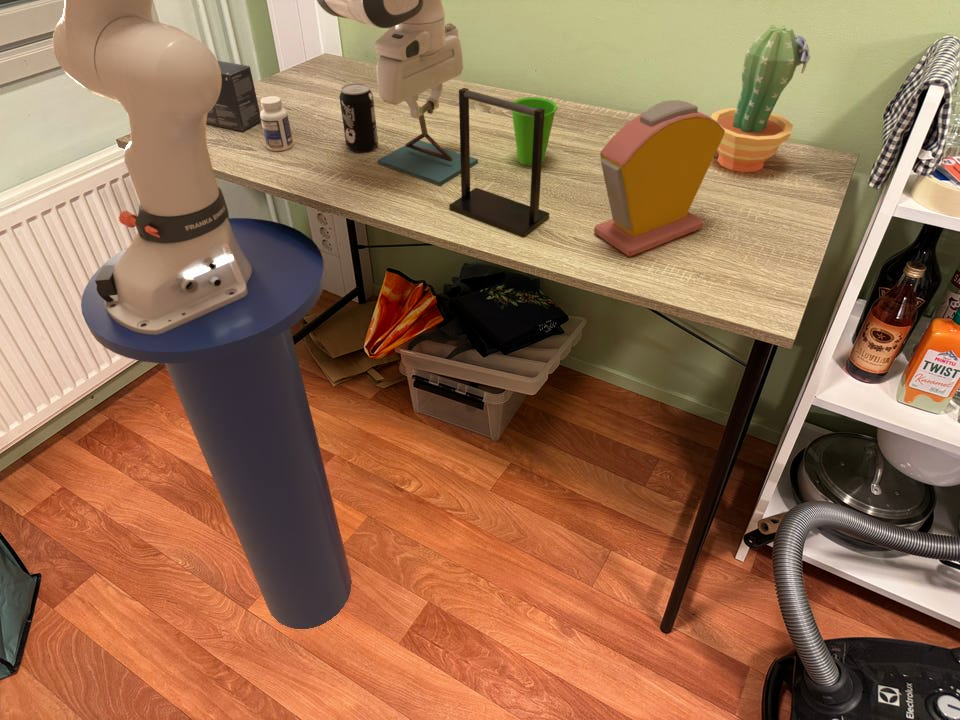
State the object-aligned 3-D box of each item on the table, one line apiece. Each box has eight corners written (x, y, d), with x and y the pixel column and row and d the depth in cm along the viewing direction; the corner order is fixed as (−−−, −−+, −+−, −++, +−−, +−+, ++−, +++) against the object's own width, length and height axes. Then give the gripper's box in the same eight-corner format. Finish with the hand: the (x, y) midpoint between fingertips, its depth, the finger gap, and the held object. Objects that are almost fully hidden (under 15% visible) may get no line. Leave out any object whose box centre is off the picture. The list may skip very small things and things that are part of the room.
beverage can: (340, 148, 140) (331, 89, 133) (361, 137, 145) (354, 79, 137) (363, 156, 138) (356, 96, 130) (385, 144, 142) (378, 86, 134)
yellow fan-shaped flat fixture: (675, 202, 123) (700, 81, 108) (714, 225, 117) (746, 99, 102) (580, 238, 114) (593, 110, 100) (616, 263, 108) (636, 132, 94)
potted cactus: (765, 187, 127) (807, 46, 110) (687, 165, 134) (716, 29, 117) (792, 158, 136) (835, 24, 119) (718, 138, 143) (749, 9, 126)
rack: (523, 237, 114) (528, 119, 101) (449, 209, 121) (444, 96, 108) (549, 218, 119) (557, 102, 105) (476, 192, 126) (475, 81, 113)
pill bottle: (285, 138, 144) (275, 92, 138) (298, 146, 141) (289, 99, 135) (262, 146, 142) (251, 99, 135) (275, 154, 139) (265, 106, 132)
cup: (534, 175, 131) (537, 119, 124) (499, 161, 136) (500, 106, 128) (562, 160, 136) (567, 105, 129) (527, 147, 140) (530, 93, 133)
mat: (440, 185, 128) (439, 182, 127) (377, 163, 135) (377, 159, 135) (478, 162, 135) (478, 159, 135) (416, 142, 142) (416, 139, 142)
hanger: (451, 162, 131) (443, 118, 124) (405, 147, 137) (395, 104, 129) (461, 153, 133) (454, 109, 126) (415, 139, 138) (405, 95, 131)
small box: (263, 121, 151) (251, 65, 143) (243, 132, 147) (229, 75, 139) (217, 111, 156) (203, 56, 148) (196, 122, 151) (180, 66, 143)
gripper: (443, 17, 127) (446, 92, 136) (367, 46, 115) (376, 126, 124) (470, 23, 124) (471, 99, 133) (395, 53, 112) (402, 134, 121)
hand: (424, 112), depth 128 cm, fingers closed on hanger, 3 cm apart
